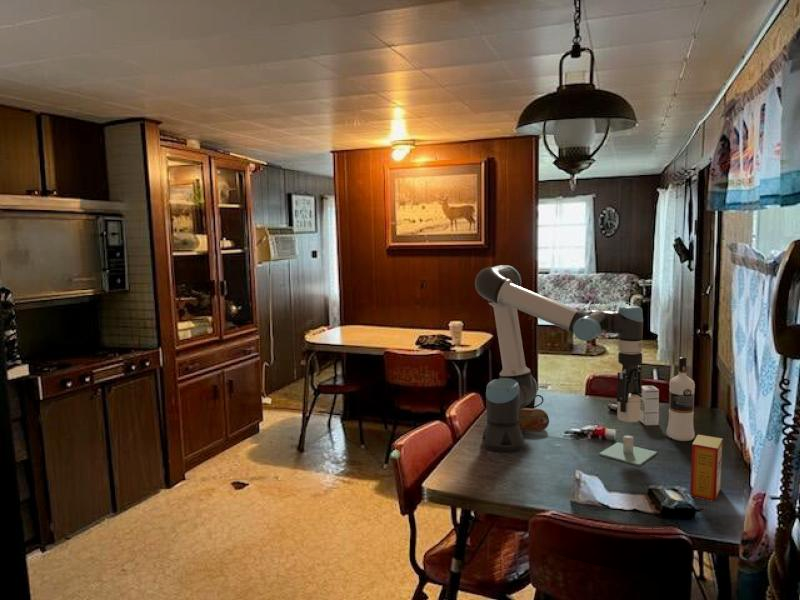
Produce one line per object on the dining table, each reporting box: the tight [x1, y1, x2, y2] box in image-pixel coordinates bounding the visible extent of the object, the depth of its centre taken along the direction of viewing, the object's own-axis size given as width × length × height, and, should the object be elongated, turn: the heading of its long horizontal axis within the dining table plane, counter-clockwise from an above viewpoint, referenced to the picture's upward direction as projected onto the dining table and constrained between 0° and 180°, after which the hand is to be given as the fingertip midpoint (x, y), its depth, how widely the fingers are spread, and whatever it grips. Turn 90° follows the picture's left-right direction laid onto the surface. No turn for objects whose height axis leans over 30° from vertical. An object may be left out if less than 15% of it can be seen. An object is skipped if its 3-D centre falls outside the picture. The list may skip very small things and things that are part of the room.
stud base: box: [598, 435, 658, 467], centre depth 199 cm, size 14×14×6 cm
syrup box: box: [638, 385, 660, 426], centre depth 229 cm, size 6×6×14 cm
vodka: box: [666, 356, 696, 442], centre depth 212 cm, size 9×9×30 cm
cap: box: [616, 392, 641, 423], centre depth 198 cm, size 7×7×8 cm
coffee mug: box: [523, 394, 544, 409], centre depth 245 cm, size 12×9×10 cm
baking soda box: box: [689, 434, 724, 502], centre depth 169 cm, size 10×6×16 cm
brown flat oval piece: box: [519, 408, 550, 432], centre depth 226 cm, size 15×3×8 cm, turn 76°
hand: (629, 418), depth 198 cm, fingers closed on cap, 7 cm apart
